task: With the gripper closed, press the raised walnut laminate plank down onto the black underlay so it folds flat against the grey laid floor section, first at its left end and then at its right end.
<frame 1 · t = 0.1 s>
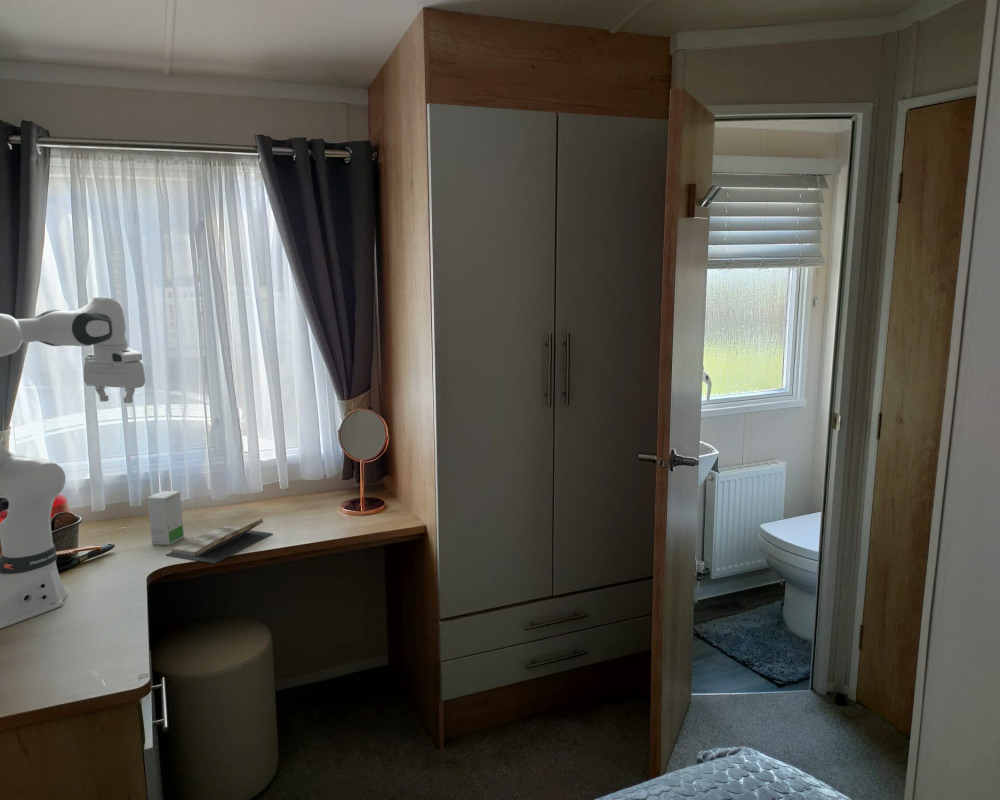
hand: (116, 402, 209), 48 cm above the table, fingers open, 8 cm apart
laid floor: (221, 544, 227), resting on underlay
underlay: (221, 544, 227), on the table
skincare box: (168, 541, 231), on the table
plank: (230, 536, 225), point 3 cm above the table, hinge at 30.0°
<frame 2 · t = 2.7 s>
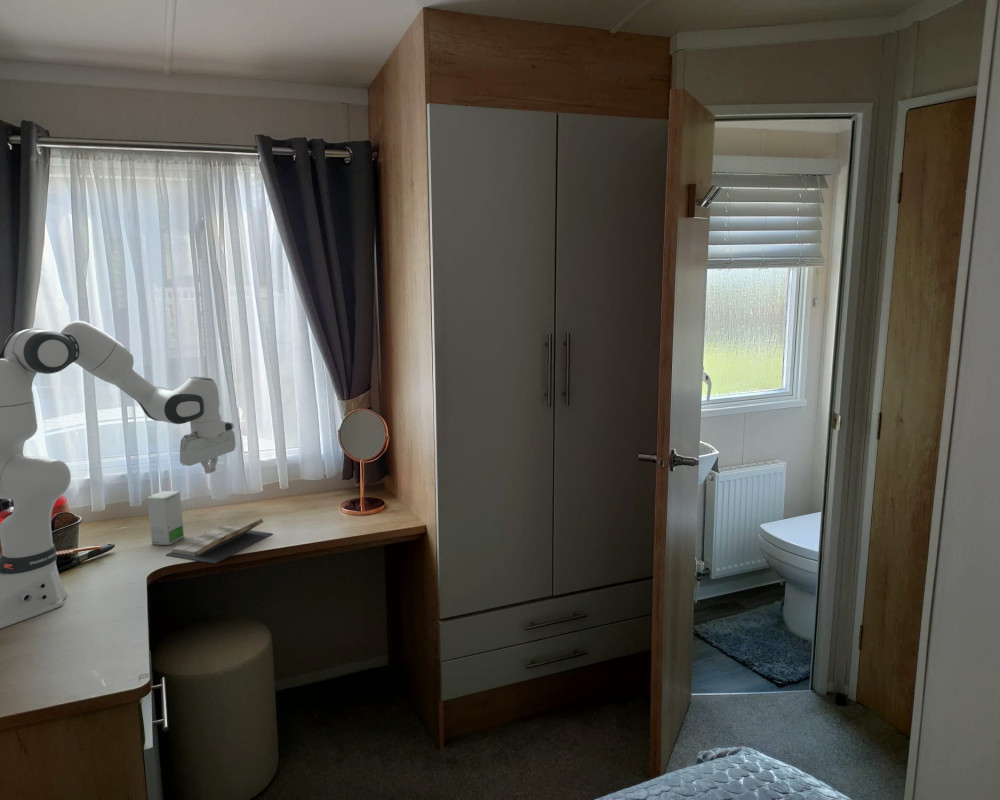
hand: (210, 472, 223), 24 cm above the table, fingers closed
nothing on the table moved.
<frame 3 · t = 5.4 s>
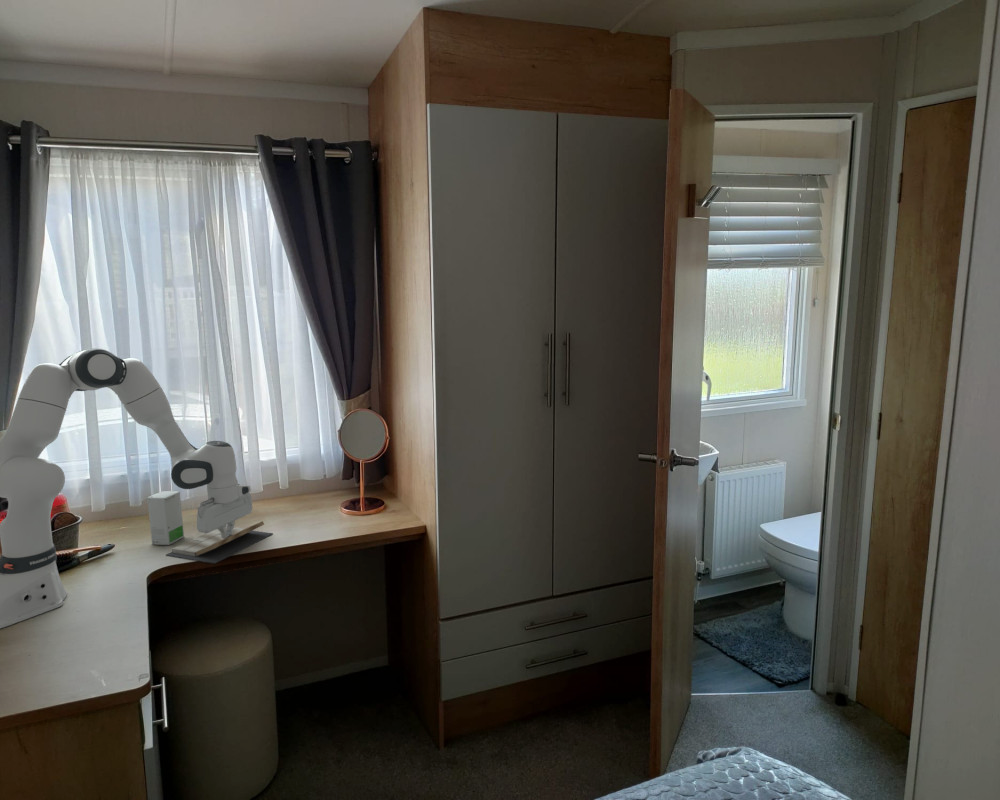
hand: (227, 536, 221), 5 cm above the table, fingers closed, pressing on plank
plank: (231, 537, 225), point 3 cm above the table, hinge at 24.3°, touching gripper
everything else where it was.
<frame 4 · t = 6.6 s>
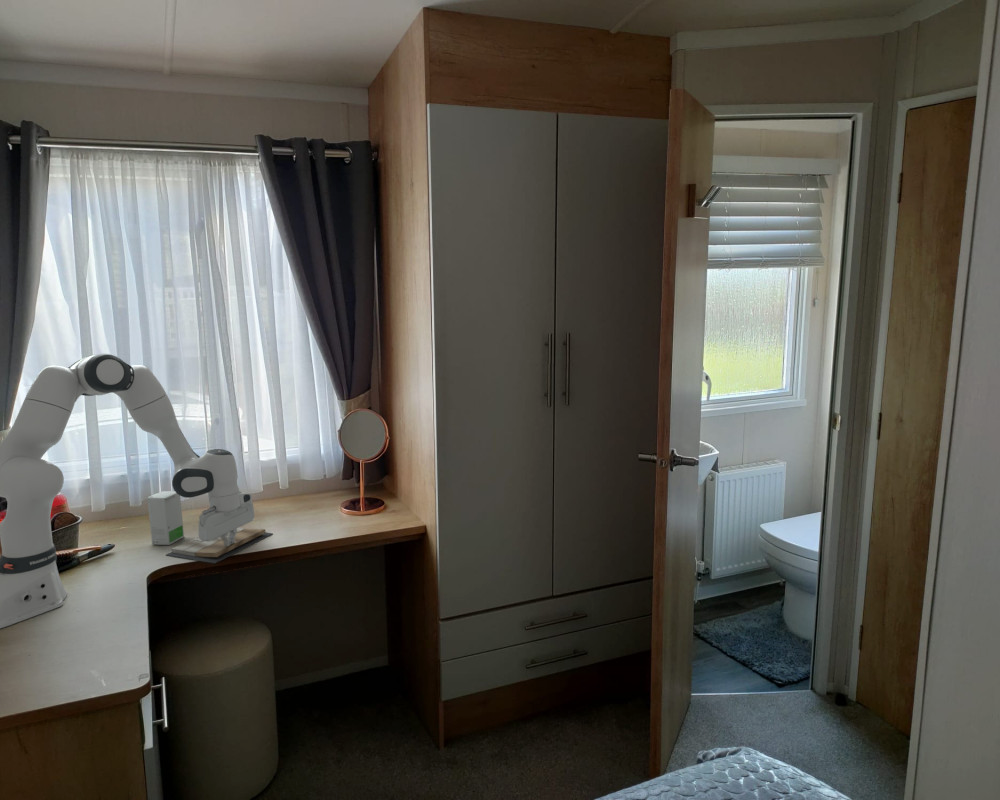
hand: (229, 544, 221), 2 cm above the table, fingers closed, pressing on plank
plank: (231, 542, 225), point 1 cm above the table, hinge at 5.4°, touching gripper
everything else where it was.
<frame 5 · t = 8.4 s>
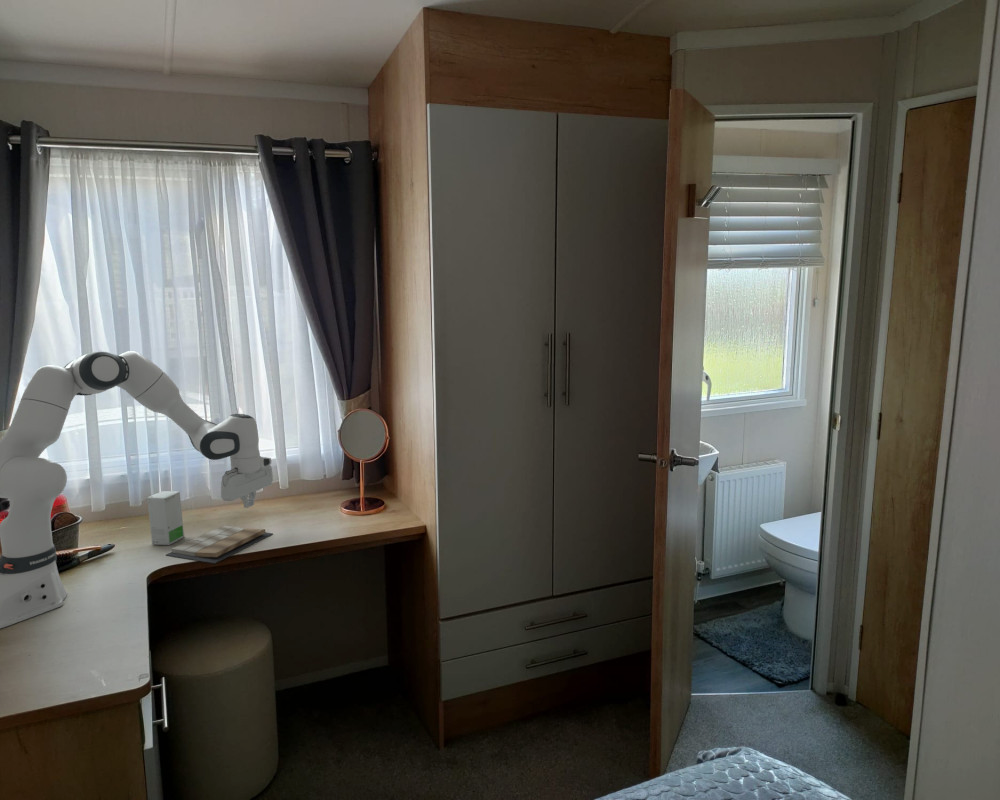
hand: (249, 506, 230), 11 cm above the table, fingers closed
plank: (231, 542, 225), point 1 cm above the table, hinge at 5.3°
everything else where it was.
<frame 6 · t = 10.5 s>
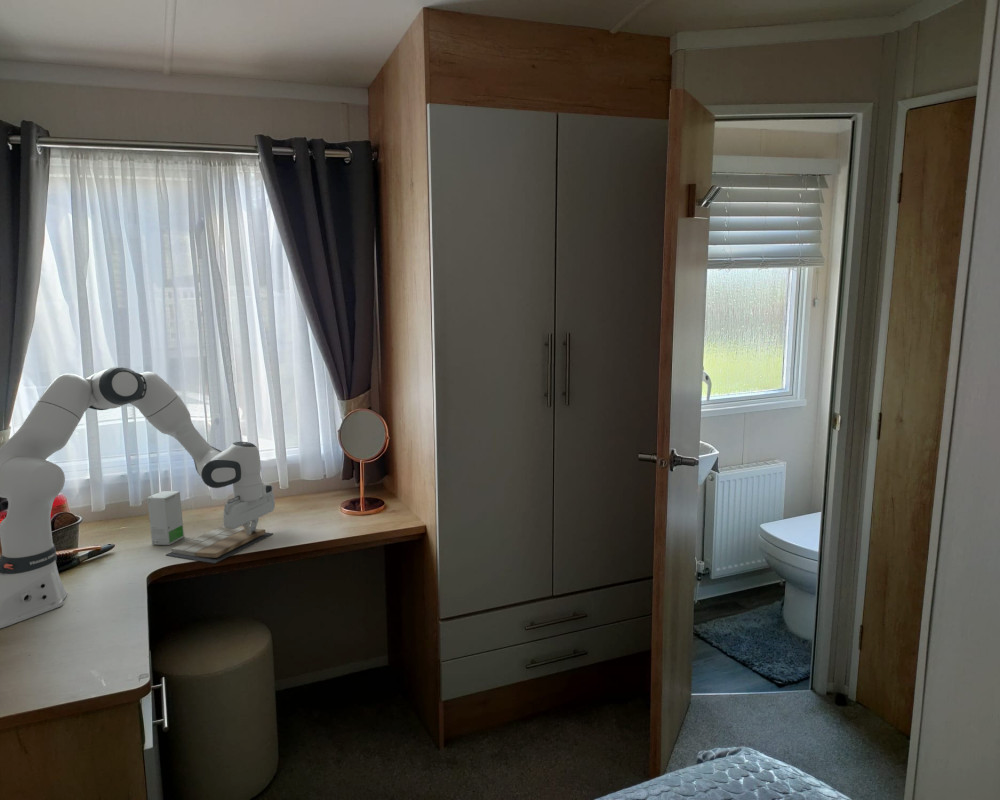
hand: (251, 533, 231), 2 cm above the table, fingers closed, pressing on plank
plank: (231, 542, 225), point 1 cm above the table, hinge at 4.4°, touching gripper
everything else where it was.
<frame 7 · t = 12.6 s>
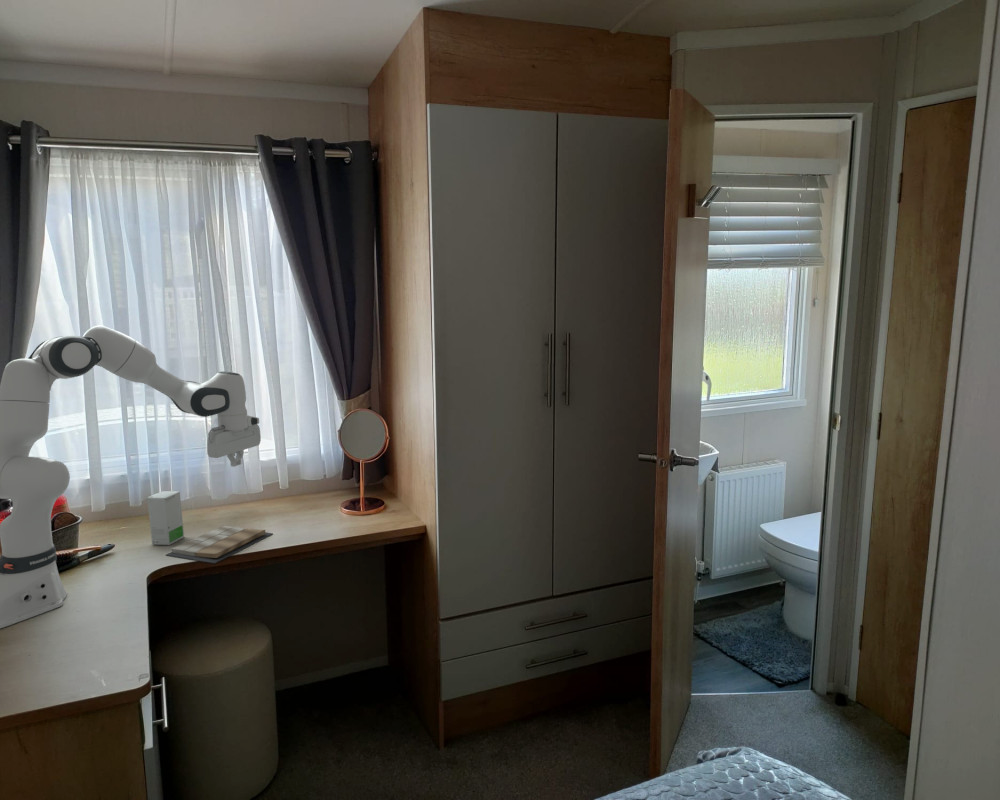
hand: (236, 465, 228), 24 cm above the table, fingers closed
plank: (231, 542, 225), point 1 cm above the table, hinge at 3.7°
everything else where it was.
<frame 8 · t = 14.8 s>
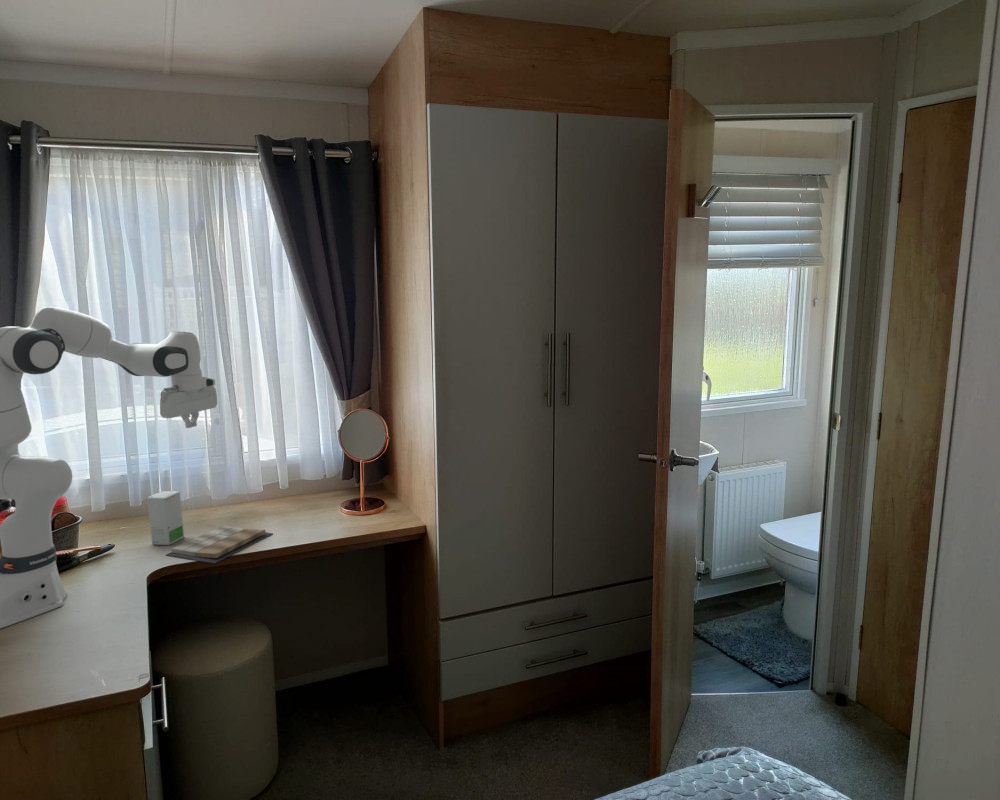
hand: (191, 427, 225), 37 cm above the table, fingers closed
nothing on the table moved.
at the end: plank at +4° (first picture: +30°) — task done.
